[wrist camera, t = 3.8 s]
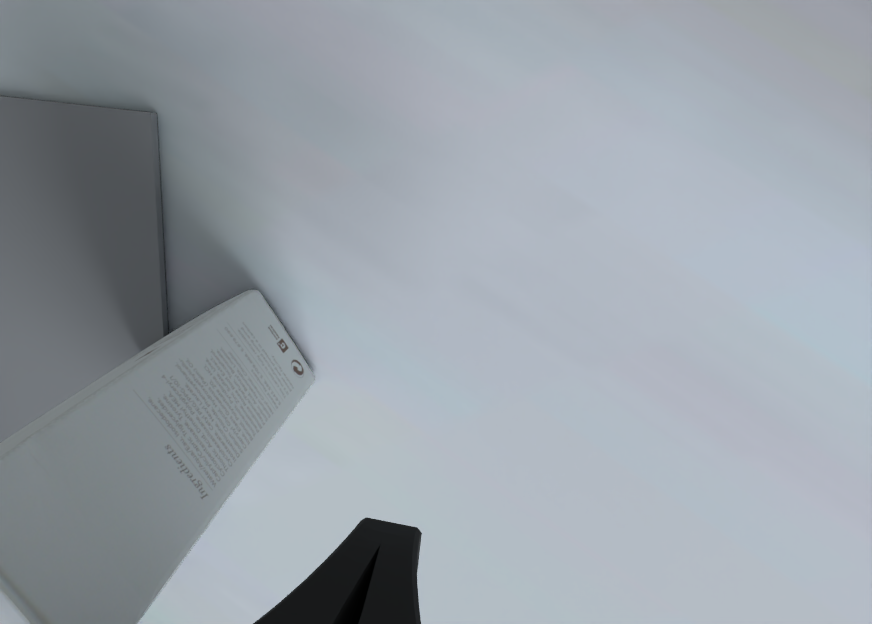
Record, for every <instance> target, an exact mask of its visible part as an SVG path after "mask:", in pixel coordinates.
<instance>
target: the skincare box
mask: <svg viewBox="0 0 872 624" xmlns="http://www.w3.org/2000/svg"><path fill="white" fill-rule="evenodd" d="M314 381H315V376H314V374H313V372H312V371H311V369H310V368H309V366H308V365H307V363H306V361H305V360H304V358H303V356H302V355H301V353H300V351H299V350H298V348H297V347H296V345H295V344H294V342H293V341H292V339H291V338H290V336H289V335H288V333H287V332H286V330H285V329H284V327H283V325H282V324H281V323H280V321H279V319H278V318H277V316H276V315H275V313H274V312H273V310H272V309H271V307H270V306H269V305H268V303H267V302H266V300H265V299H264V297H263V296H262V294H261V293H260V292H259V291H258V290H253V289H252V290H248V291H245V292H243V293H241V294H239V295H237V296H235V297H233V298H231V299H229V300H227V301H225V302H223V303H221V304H219V305H217V306H216V307H214V308H212V309H210V310H208V311H206V312H205V313H203V314H201V315H199V316H198V317H196V318H194V319H193V320H191V321H189V322H187V323H186V324H184V325H183V326H181V327H179V328H178V329H176V330H175V331H173V332H171V333H170V334H168V335H167V336H165V337H163V338H162V339H160V340H159V341H157V342H155V343H154V344H152V345H151V346H149V347H147V348H146V349H144V350H143V351H141V352H140V353H138V354H136V355H135V356H133V357H132V358H130V359H129V360H127V361H125V362H124V363H122V364H121V365H119V366H118V367H116V368H115V369H113V370H112V371H110V372H108V373H107V374H105V375H104V376H102V377H101V378H99V379H98V380H96V381H95V382H93V383H92V384H90V385H88V386H87V387H85V388H84V389H82V390H81V391H79V392H78V393H76V394H75V395H73V396H72V397H70V398H68V399H67V400H65V401H64V402H62V403H61V404H59V405H58V406H56V407H55V408H53V409H51V410H50V411H48V412H47V413H45V414H44V415H42V416H40V417H39V418H37V419H36V420H34V421H32V422H31V423H29V424H28V425H26V426H25V427H24V428H22V429H21V430H19V431H18V432H16V433H15V434H13V435H11V436H10V437H8V438H7V439H5V440H4V441H2V442H1V443H0V624H138V622H139V621H140V620H141V618H142V617H143V615H144V614H145V613H146V611H147V610H148V609H149V607H150V606H151V604H152V603H153V602H154V600H155V599H156V598H157V596H158V595H159V594H160V592H161V591H162V589H163V588H164V587H165V585H166V584H167V583H168V581H169V580H170V579H171V577H172V576H173V574H174V573H175V572H176V570H177V569H178V567H179V566H180V565H181V563H182V562H183V561H184V559H185V558H186V556H187V555H188V554H189V552H190V551H191V549H192V548H193V547H194V545H195V544H196V542H197V541H198V540H199V538H200V537H201V536H202V534H203V533H204V532H205V530H206V529H207V527H208V526H209V525H210V523H211V522H212V520H213V519H214V518H215V516H216V515H217V514H218V512H219V511H220V510H221V508H222V507H223V505H224V504H225V502H226V501H227V500H228V499H229V497H230V496H231V495H232V493H233V492H234V491H235V489H236V488H237V487H238V485H239V484H240V482H241V481H242V480H243V478H244V477H245V476H246V474H247V473H248V472H249V470H250V469H251V468H252V466H253V465H254V464H255V462H256V461H257V460H258V458H259V457H260V456H261V454H262V453H263V452H264V450H265V449H266V448H267V446H268V445H269V443H270V442H271V440H272V439H273V438H274V436H275V435H276V434H277V433H278V431H279V430H280V428H281V427H282V426H283V424H284V423H285V422H286V420H287V419H288V418H289V416H290V415H291V414H292V412H293V411H294V409H295V408H296V407H297V405H298V404H299V403H300V401H301V400H302V398H303V397H304V396H305V394H306V393H307V392H308V390H309V389H310V388H311V386H312V385H313V383H314Z"/></svg>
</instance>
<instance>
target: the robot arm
mask: <svg viewBox="0 0 872 624" xmlns="http://www.w3.org/2000/svg"><path fill="white" fill-rule="evenodd" d="M421 534H422V533H421V532H420V530H419V529H418V528H416V527H411V526H406V525H401V524H396V523H391V522H386V521H381V520H376V519H371V518H365V519H363V520H361V521H360V523H359V524H358V525H357V526H356V527H355V529H354V530H353V531H352V532H351V533H350V534H349V535H348V537H347V538H346V539H345V540H344V541H343V542H342V543H341V544H340V545H339V546H338V548H337V549H336V550H335V551H334V552H333V553H332V554H331V555H330V556H329V557H328V558H327V559H326V560H325V561H324V562H323V563H322V564H321V565H320V566H319V567H318V568H317V569H316V570H315V571H314V572H313V573H312V574H311V575H310V576H309V577H308V578H307V579H306V580H305V581H303V582H302V583H301V584H300V585H299V586H298V587H297V588H296V589H294V590H293V591H292V592H291V593H290V594H289V595H288V596H287V597H285V598H284V599H283V600H282V601H281V602H280V603H279V604H277V605H276V606H275V607H274V608H273V609H271V610H270V611H269V612H268V613H266V614H265V615H264V616H263V617H261V618H260V619H259V620H257V621H256V622H255V623H253V624H421V621H420V612H419V602H418V589H417V568H418V560H419V551H420V542H421Z"/></svg>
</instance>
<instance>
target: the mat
mask: <svg viewBox="0 0 872 624" xmlns="http://www.w3.org/2000/svg"><path fill="white" fill-rule="evenodd" d="M167 335H168V318H167V299H166V280H165V261H164V241H163V222H162V203H161V184H160V164H159V145H158V126H157V113H152V112H143V111H134V110H125V109H116V108H106V107H97V106H88V105H79V104H70V103H61V102H51V101H42V100H33V99H24V98H15V97H6V96H0V443H1V442H2V441H4V440H5V439H7V438H8V437H10V436H11V435H13V434H15V433H16V432H18V431H19V430H21V429H22V428H24V427H25V426H26V425H28V424H29V423H31V422H32V421H34V420H36V419H37V418H39V417H40V416H42V415H44V414H45V413H47V412H48V411H50V410H51V409H53V408H55V407H56V406H58V405H59V404H61V403H62V402H64V401H65V400H67V399H68V398H70V397H72V396H73V395H75V394H76V393H78V392H79V391H81V390H82V389H84V388H85V387H87V386H88V385H90V384H92V383H93V382H95V381H96V380H98V379H99V378H101V377H102V376H104V375H105V374H107V373H108V372H110V371H112V370H113V369H115V368H116V367H118V366H119V365H121V364H122V363H124V362H125V361H127V360H129V359H130V358H132V357H133V356H135V355H136V354H138V353H140V352H141V351H143V350H144V349H146V348H147V347H149V346H151V345H152V344H154V343H155V342H157V341H159V340H160V339H162V338H163V337H165V336H167Z"/></svg>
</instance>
